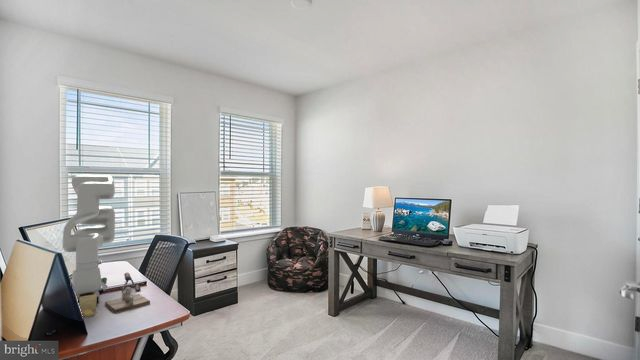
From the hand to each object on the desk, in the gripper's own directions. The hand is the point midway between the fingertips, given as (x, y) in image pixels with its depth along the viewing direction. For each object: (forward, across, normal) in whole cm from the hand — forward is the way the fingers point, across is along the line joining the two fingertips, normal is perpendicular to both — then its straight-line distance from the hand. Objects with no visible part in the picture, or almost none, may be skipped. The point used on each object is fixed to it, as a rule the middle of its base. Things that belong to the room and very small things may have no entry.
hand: (85, 307), depth 134 cm
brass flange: (+2, 0, 0) cm, 2 cm away
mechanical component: (+2, -8, -17) cm, 19 cm away
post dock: (+2, -15, +3) cm, 15 cm away
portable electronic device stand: (+2, -23, -17) cm, 29 cm away
